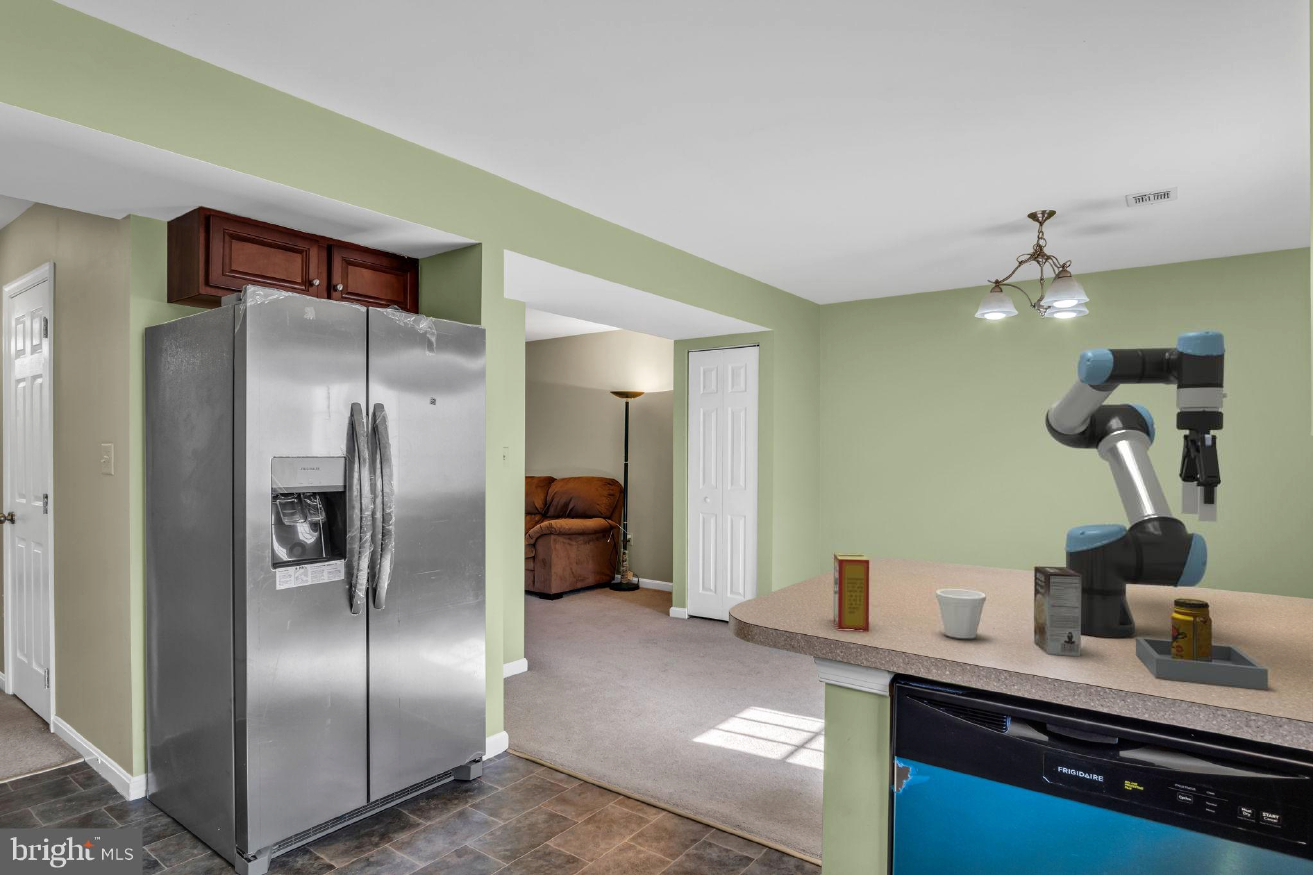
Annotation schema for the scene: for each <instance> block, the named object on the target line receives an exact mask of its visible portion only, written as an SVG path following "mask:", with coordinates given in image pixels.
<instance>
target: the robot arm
mask: <svg viewBox="0 0 1313 875" xmlns="http://www.w3.org/2000/svg"><path fill="white" fill-rule="evenodd" d="M1224 336H1225V335H1224V334H1223V333H1221V332H1220V331H1214V330H1213V331H1212V330H1210V331H1209V330H1206V331H1205V330H1202V331H1191V332H1184V333H1181V334H1180V335H1178V337H1177V344H1176V347H1157V348H1156V347H1154V348H1153V347H1152V348H1150V347H1149V348H1147V347H1146V348H1098V349H1097V348H1096V349H1086V350H1084V351H1083V352H1082V353H1080V356H1079V359H1078V362H1077V376H1078V378H1077V379H1076V381H1075V382H1074V383H1073V384H1072V386H1071V387H1070V388H1069V389H1068V391H1067V392H1066V394H1065V395H1064V396H1063V398H1062V399H1059V400H1056V401H1055V402H1054V403H1052V405H1051V406H1050V407H1049V409H1048V410H1047V412H1046V414H1045V417H1044V418H1045V428H1046V429H1047V431H1048V434H1050V436H1051V437H1052V438H1053V439H1054V440H1055V441H1056V442H1058V443H1059V444H1060V445H1061V444H1062V445H1063V446H1065V447H1069V448H1072V449H1082V450H1083V449H1089V450H1094V449H1095V450H1096V451H1097V454H1098V456H1099V457H1100V459H1102V460H1103V461H1105V462H1106V463H1107V462H1108V465H1109V468H1110V472H1111V474H1112V477H1113V480H1114V483H1115V486H1116V488H1117V491H1118V494H1119V497H1120V499H1121V503H1122V507H1123V508H1124V512H1125V514H1126V515H1125V516H1126V518H1127V520H1128V522H1129V526H1128V528H1127V527H1126V526H1125V525H1123V524H1118V523H1117V524H1115V523H1113V524H1110V523H1109V524H1106V523H1105V524H1104V523H1102V524H1089V525H1088V524H1087V525H1081V526H1080V525H1079V526H1077V527H1072V528H1071V529H1069V530H1068V531H1067V534H1066V538H1065V541H1066V542H1065V546H1064V550H1065V567H1067V568H1069V569H1070V570H1072V571H1074V572H1076V573H1078V574H1080V575H1082V577H1081V635H1085V636H1092V637H1100V638H1115V639H1116V638H1130V637H1134V636H1135V635H1136V623H1135V619H1134V616H1133V614H1132V611H1131V608H1130V605H1129V602H1128V600H1127V599H1128V598H1127V585H1139V586H1159V587H1161V586H1163V587H1174V588H1179V587H1184V588H1185V587H1195V586H1197V585H1199V583H1200V582H1201V581H1202V580H1203V578H1204V576H1205V574H1206V570H1207V564H1208V547H1207V543H1206V540H1205V539H1204V537H1203V535H1201V534H1199V533H1196V532H1192V533H1190V532H1188V530H1187V526H1186V525H1185V524H1184V522H1183V521H1182V520H1181V519H1179V518H1178V517H1174V516H1173V513H1172V511H1171V509H1170V508H1171V507H1170V506H1169V504H1168V501H1167V498H1166V496H1165V494H1164V493H1165V492H1164V491H1163V488H1162V486H1161V484H1160V481H1159V479H1158V476H1157V474H1156V471H1155V469H1154V465H1153V463H1152V460H1151V459H1150V456H1149V454H1148V451H1149V450H1150V447H1151V446H1153V443H1154V441H1155V438H1156V428H1155V427H1154V425H1155V422H1154V418H1153V416H1152V414H1151V413H1150V411H1149V409H1148V408H1146V407H1145V406H1143V405H1140V404H1131V403H1120V404H1104V402H1105V401H1106V400H1107V399H1108V398H1109V396H1111V395H1112V394H1113V392H1114V391H1115V390H1116V389H1117V388H1119V386H1120V385H1130V384H1131V385H1135V384H1139V385H1140V384H1142V385H1143V384H1144V385H1145V384H1147V385H1149V384H1150V385H1151V384H1156V385H1158V384H1163V385H1175V386H1176V389H1175V391H1176V394H1175V396H1176V399H1175V400H1176V404H1175V406H1176V408H1177V409H1178V410H1179V411H1177V413H1176V426H1175V428H1176V429H1177V430H1178V431H1188V434H1187V433H1185V434H1183V436H1182V438H1183V446H1182V447H1183V448H1182V454H1181V461H1180V469H1179V473H1178V475H1179V478H1180V479H1181V514H1184V515H1185V514H1188V515H1197V521H1199V522H1216V523H1217V512H1218V510H1217V507H1218V506H1217V502H1218V500H1217V499H1218V486H1219V485H1221V482H1222V480H1221V473H1220V467H1219V466H1220V465H1219V457H1218V449H1217V438H1218V437H1217V435H1216V434H1211V431H1221V430H1223V428H1224V412H1223V411H1220V409H1222V408H1223V407H1224V399H1226V398H1227V396H1228V394H1227V393H1226V392H1224V380H1225V379H1224V378H1225V375H1224V374H1225V354H1226V348H1225V337H1224Z"/></svg>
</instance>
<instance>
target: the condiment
mask: <svg viewBox="0 0 1313 875" xmlns="http://www.w3.org/2000/svg"><path fill="white" fill-rule="evenodd" d="M1209 608H1210V605H1209V603H1208V602H1207V601H1205V600H1200V599H1194V598H1183V597H1182V598H1176V599H1174V600H1173V612H1172V614H1171V618H1170V620H1171V640H1172V641H1171V642H1172V643H1171V645H1172V647H1171V650H1172V651H1171V654H1172V659H1182V660H1192V661H1202V662H1212V644H1213V625H1212V624H1213V620H1212V618H1211V616H1210V610H1209Z"/></svg>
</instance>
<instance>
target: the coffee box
mask: <svg viewBox="0 0 1313 875" xmlns="http://www.w3.org/2000/svg"><path fill="white" fill-rule="evenodd" d="M1033 568H1034V570H1033V571H1034V572H1033V574H1034V575H1033V576H1034V579H1033V582H1034V583H1033V584H1034V585H1033V586H1034V587H1033V592H1034V594H1033V603H1034V604H1033V642H1034V643H1035V645H1037V646H1038V647H1039V648H1040V649H1042V651H1044V652H1045V653H1046V654H1047V655H1055V656H1072V657H1073V656H1074V657H1075V656H1076V657H1081V656H1082V655H1081V654H1082V653H1081V650H1082V649H1081V648H1082V643H1081V642H1082V634H1081V577H1082V575H1080V574H1078V573H1076V572H1074V571H1072V570H1070V569H1069V568H1067V567H1066V566H1034V567H1033Z"/></svg>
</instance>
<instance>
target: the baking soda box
mask: <svg viewBox="0 0 1313 875" xmlns="http://www.w3.org/2000/svg"><path fill="white" fill-rule="evenodd" d="M833 619H834V620H835V622H836V624H835V626H836V625H837V626H836V628H837V627H838V628H837V630H838V629H854V630H863V631H862V632H869V631H870V630H869V629H870V628H869V627H870V622H869V621H870V559H869V558H868V557H867V556H866V555H865V554H864V553H843V552H842V553H840V552H833ZM834 620H833V621H834ZM835 622H834V623H835Z"/></svg>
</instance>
